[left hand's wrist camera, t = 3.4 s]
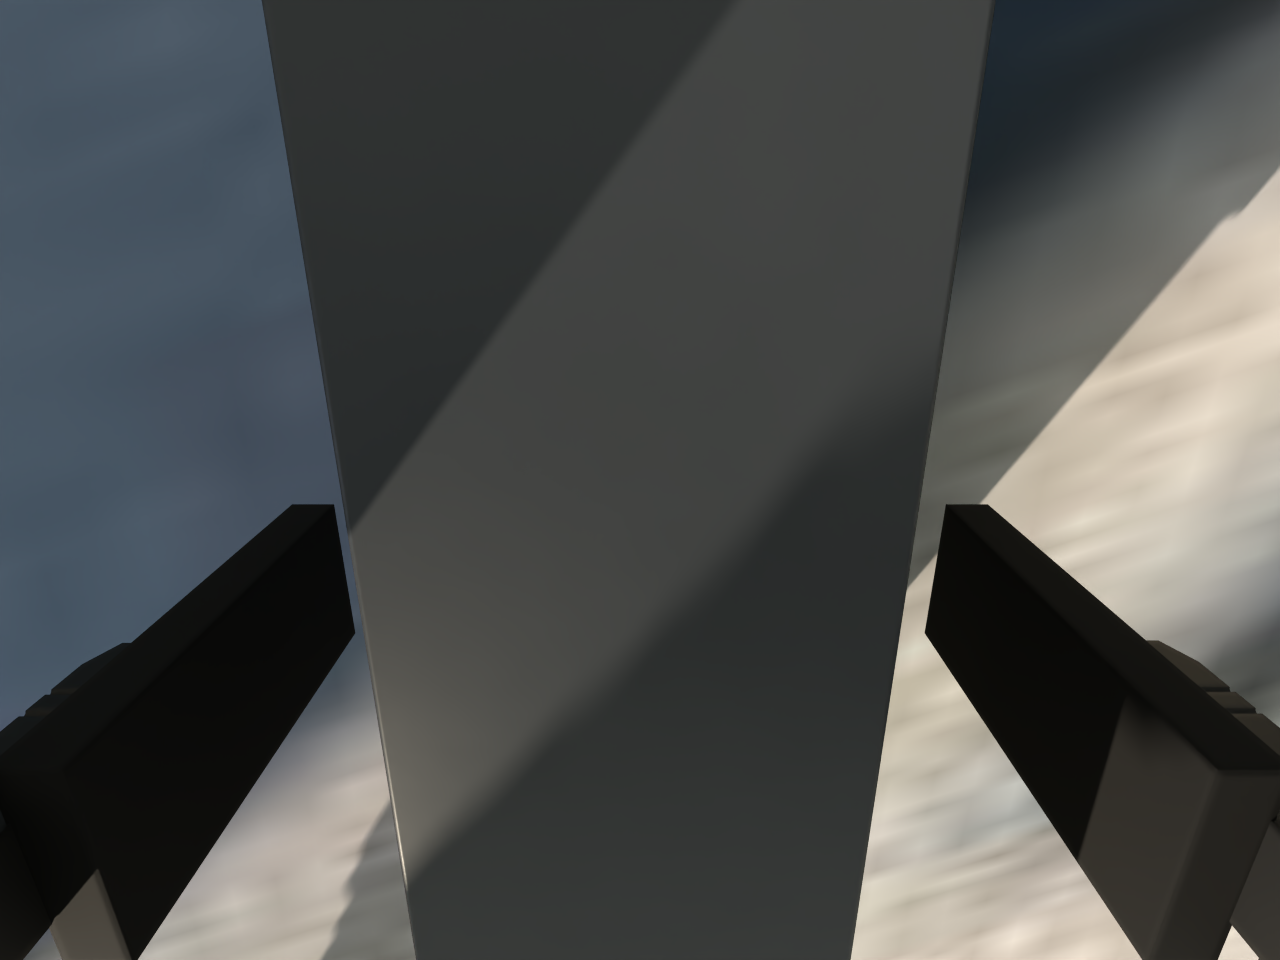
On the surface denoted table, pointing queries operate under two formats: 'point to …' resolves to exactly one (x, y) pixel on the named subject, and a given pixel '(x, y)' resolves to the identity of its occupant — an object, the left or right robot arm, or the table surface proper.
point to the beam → (630, 438)
